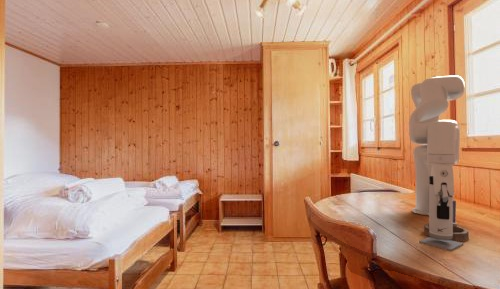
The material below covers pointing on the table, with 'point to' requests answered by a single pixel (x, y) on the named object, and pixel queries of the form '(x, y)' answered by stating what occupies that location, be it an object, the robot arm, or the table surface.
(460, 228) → the collar
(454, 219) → the flask
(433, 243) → the mat
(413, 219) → the table surface
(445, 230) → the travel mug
